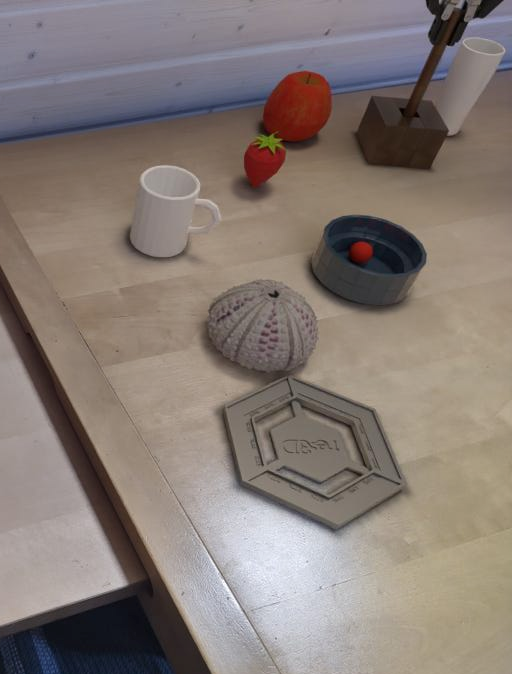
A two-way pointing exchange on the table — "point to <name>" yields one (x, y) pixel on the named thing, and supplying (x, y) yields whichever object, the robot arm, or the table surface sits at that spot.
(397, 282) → the bowl
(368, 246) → the ball
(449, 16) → the robot arm
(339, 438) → the grey hexagonal plate
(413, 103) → the stirring stick
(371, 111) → the holder
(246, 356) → the sea urchin shell
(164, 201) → the mug
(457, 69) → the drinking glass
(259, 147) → the strawberry
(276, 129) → the apple
